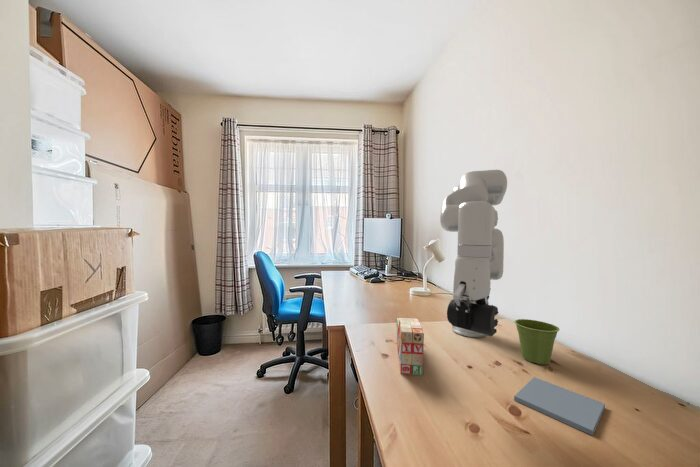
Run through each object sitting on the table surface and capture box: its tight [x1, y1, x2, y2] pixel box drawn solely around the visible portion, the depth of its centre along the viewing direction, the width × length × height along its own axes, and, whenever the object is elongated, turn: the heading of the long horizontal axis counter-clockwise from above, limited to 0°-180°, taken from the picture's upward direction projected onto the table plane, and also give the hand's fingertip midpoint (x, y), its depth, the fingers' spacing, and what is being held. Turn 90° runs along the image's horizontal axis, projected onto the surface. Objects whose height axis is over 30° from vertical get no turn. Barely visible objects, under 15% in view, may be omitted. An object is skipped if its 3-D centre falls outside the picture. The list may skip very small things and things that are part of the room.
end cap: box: [446, 299, 499, 337], centre depth 64 cm, size 10×7×7 cm
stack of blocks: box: [396, 317, 425, 377], centre depth 84 cm, size 21×6×12 cm, turn 173°
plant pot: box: [513, 318, 560, 365], centre depth 84 cm, size 12×12×11 cm
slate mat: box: [513, 376, 606, 437], centre depth 62 cm, size 14×14×1 cm
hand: (472, 324), depth 64 cm, fingers closed on end cap, 7 cm apart
